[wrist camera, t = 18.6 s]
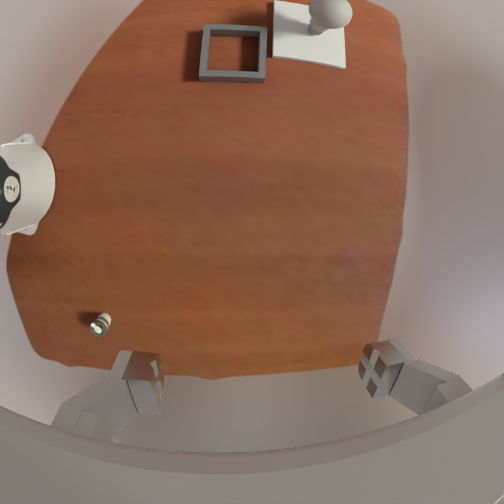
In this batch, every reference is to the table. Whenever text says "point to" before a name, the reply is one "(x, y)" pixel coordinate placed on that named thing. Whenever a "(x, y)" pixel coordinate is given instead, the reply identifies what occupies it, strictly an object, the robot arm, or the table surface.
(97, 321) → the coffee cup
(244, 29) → the frame
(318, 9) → the lightbulb
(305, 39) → the mat
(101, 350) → the table surface
